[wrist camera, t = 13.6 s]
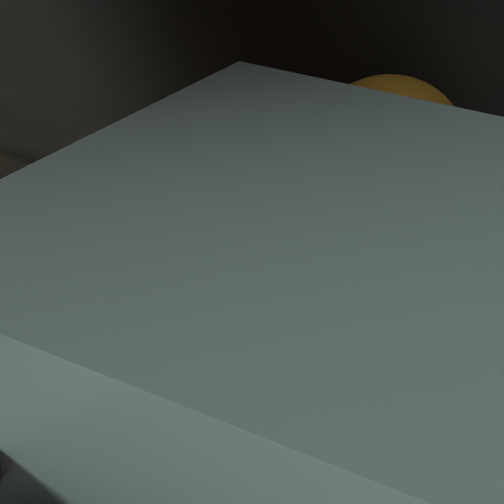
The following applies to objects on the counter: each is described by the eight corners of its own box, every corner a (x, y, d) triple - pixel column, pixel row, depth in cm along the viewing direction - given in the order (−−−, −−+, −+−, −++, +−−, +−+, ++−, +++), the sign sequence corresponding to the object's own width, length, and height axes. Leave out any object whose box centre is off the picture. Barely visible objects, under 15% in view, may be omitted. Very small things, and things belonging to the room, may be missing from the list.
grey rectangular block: (239, 61, 10) (-173, 265, 4) (560, 128, 9) (950, 710, 2) (217, 290, 14) (-1, 603, 7) (439, 363, 13) (431, 839, 6)
